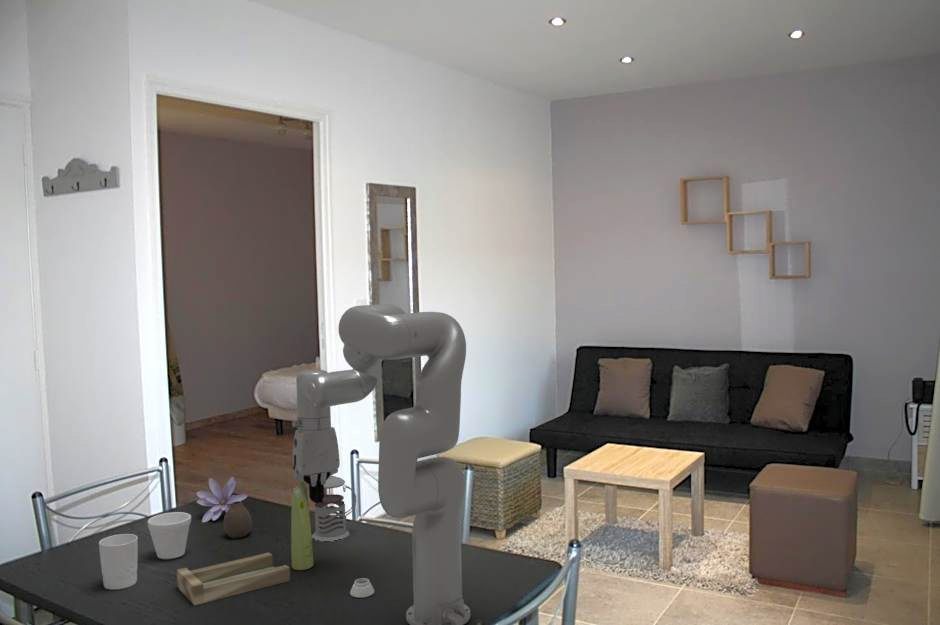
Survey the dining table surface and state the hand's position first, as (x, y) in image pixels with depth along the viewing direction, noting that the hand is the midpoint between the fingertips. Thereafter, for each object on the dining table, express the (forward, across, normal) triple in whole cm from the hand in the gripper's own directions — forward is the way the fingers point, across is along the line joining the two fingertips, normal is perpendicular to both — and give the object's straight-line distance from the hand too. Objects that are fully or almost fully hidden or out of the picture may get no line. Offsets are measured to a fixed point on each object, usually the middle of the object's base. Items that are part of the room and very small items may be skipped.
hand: (316, 501), depth 191 cm
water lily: (+15, -7, +49) cm, 51 cm away
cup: (+15, -26, +27) cm, 40 cm away
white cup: (+15, -40, +16) cm, 46 cm away
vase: (+15, -8, +31) cm, 35 cm away
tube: (+15, -4, 0) cm, 15 cm away
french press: (+15, +12, +16) cm, 25 cm away
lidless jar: (+15, 0, -22) cm, 27 cm away
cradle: (+15, -19, 0) cm, 24 cm away
